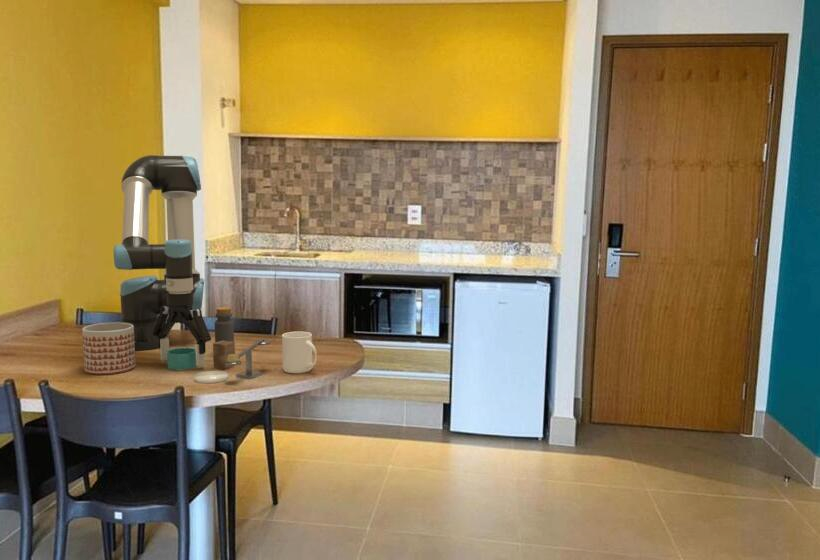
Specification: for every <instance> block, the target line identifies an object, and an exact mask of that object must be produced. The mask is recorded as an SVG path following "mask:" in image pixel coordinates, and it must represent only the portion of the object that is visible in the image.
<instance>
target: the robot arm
mask: <svg viewBox="0 0 820 560" xmlns="http://www.w3.org/2000/svg"><path fill="white" fill-rule="evenodd" d="M200 176H201V175H200V170H199V165H198V162H197V159H196V158H195V157H193V156H187V155H186V156H184V155H153V154H151V155H150V154H149V155H144V156H142V157H139V158H138V159H136V160H135V161H133V162H132V163H130V164H129V166H128V167H127V168H126V169H125V171H124V173H123V176H122V177H121V190H122V192H123V194H124V195H123V213H122V215H123V216H122V217H123V218H122V234H121V244H116V245H114V247H113V263H114V267H115V269H116V270H125V271H127V270H128V271H132V270H158V269H159V270H160V269H161V270H162V269H163V270H165V273H164V274H163V277H164V278H163V279H159V277H158V276H157V275H143V276H138V277H137V276H136V277H133V278H129V279H125V280H124V281H122V282H121V283H120V287H119V288H120V290H119V293H120V294H119V297H120V309H121V311H120V312H121V322H123V323H130V324H132V325H133V326H134V342H135V351H145V350H153V349H157V348H159V349H160V360H161V361H167V351H168V350H170V340H169V339H170V338H169V337H168V334H169V333H170V332H171V330H172V328H173V327H174V326H175V324H178V323H179V324H181V325H183V324H184V326H185V327H187V328H188V330H189V331H190V333H191V335H192V336H193V338H194V339H195V341H196V342H195V345H194V347H195V349H196V365H197V367H199V366H201V365H204V364H205V354H206V343H207V342H210V341H211V340H212V337H211V335H210V332H209V330H208V327H207V325H206V322H205V320H204V318H203V317H204V316H203V313H202V306H203V299H204V289H205V288H204V287H205V279H204V278H202V277H201V273H200V272H199V271H198V270H197V268H196V259H195V258H196V257H195V232H194V231H195V230H194V229H195V228H194V225H195V224H194V204H193V200H194V199H195V198H196V197H198V192H200V191H201V190H202V184H201V177H200ZM153 190H154V191H160V192H161V197H163V198H164V199H165V201H166V224H167V225H166V228H167V229H166V231H167V232H166V233H167V240H166V241H164V242H165V243H163V244H162V243H159V244H158V243H157V244H156V243H153V244H152V243H151V244H149V231H150V230H149V229H150V227H149V226H150V225H149V224H150V223H149V222H150V219H149V218H150V195H151V194H152V192H153Z"/></svg>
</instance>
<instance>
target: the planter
mask: <svg viewBox="0 0 820 560" xmlns="http://www.w3.org/2000/svg"><path fill="white" fill-rule="evenodd" d="M81 332H82V350H83V351H82V352H83V367H84V372H85V373H87V374H88V375H89V374H90V375H94V376H95V375H96V376H97V375H98V376H105V375H106V376H107V375H117V374H122V373H126V372H129V371H131V370H134V368H136V350H135V342H134V326H133V325H132V324H130V323H123V322H122V321H121V322H120V321H117V322H116V321H115V322H114V321H113V322H100V323H94V324H89V325H85V326H83V327H82V330H81Z"/></svg>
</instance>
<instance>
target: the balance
mask: <svg viewBox="0 0 820 560" xmlns="http://www.w3.org/2000/svg"><path fill="white" fill-rule="evenodd" d="M271 342H272V341H270V340H265V338H260V339H259V340H257V341H255V342H254V343H252V344H251V345H249V346H248V347H247V348H245V349H243V350H242V351H241V352H240V353H238V354H237V353H235V354H230V355H228V361H226V362H225V365H227V366H235V367H236V366H239V365H242V361H241V359H240V358H242V357H243V356H245V370H243V371H241V372H238V373H236V375H235V376H236V378H241V379H242V378H243V379H246V380H247V379H248V380H251V379H255V378H257V377H260V376H261V375H263V373H262V371H257V370H253V366H252V365H253V361H252V360H253V359H252V357H253V356H252V355H253V354H252V350H254V349H255V348H257V347H258V346H268V345H269V346H270V345H271V344H272V343H271Z"/></svg>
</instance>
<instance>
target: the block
mask: <svg viewBox="0 0 820 560" xmlns="http://www.w3.org/2000/svg"><path fill="white" fill-rule="evenodd" d="M235 344H236V342H235V341H234V342H231V341H219V342H216V343H215V342H213V343H212V349H213V350H212V355H213V358H212V360H213V361H212V362H213V369H218V370H226V371H227V370H228V369H232V368H234V367H236V366H227V365H225V362H226V361H228V355H230V354H236V348H235V347H236V345H235Z"/></svg>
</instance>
